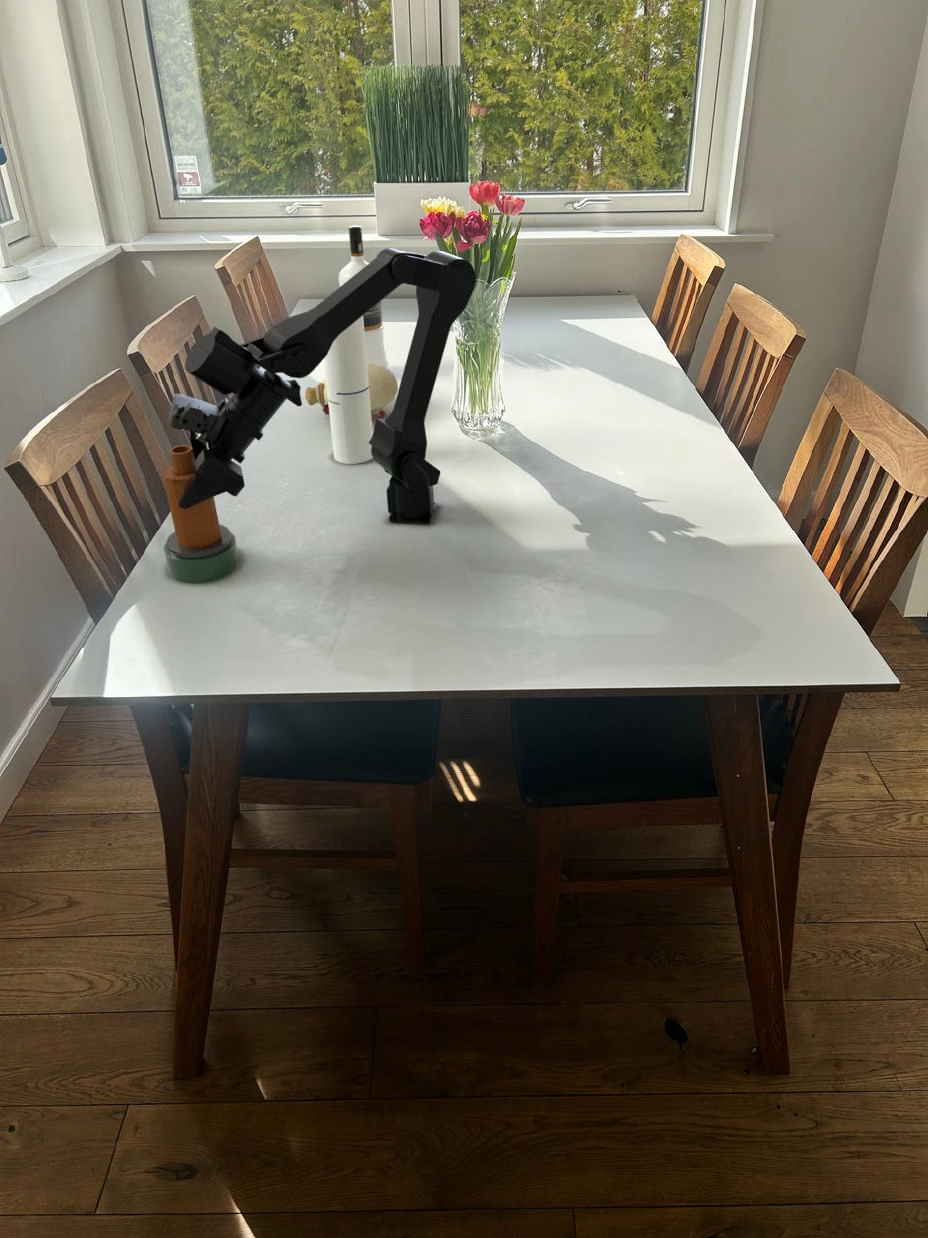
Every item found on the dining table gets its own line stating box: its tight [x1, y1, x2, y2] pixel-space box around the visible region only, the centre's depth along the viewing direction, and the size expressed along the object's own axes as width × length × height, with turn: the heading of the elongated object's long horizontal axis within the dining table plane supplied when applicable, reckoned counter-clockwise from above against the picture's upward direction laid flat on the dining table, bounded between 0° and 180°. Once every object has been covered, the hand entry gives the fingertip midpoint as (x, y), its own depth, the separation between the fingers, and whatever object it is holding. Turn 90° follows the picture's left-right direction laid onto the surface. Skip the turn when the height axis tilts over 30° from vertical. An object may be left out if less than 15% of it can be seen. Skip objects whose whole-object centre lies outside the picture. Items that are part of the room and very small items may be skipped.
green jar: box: [163, 523, 240, 584], centre depth 136 cm, size 10×10×4 cm
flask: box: [304, 364, 399, 419], centre depth 182 cm, size 9×16×18 cm
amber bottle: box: [162, 444, 221, 548], centre depth 131 cm, size 6×6×14 cm
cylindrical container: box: [323, 316, 374, 465], centre depth 161 cm, size 7×7×25 cm
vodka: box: [338, 225, 389, 370], centre depth 195 cm, size 9×9×30 cm
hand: (180, 497), depth 130 cm, fingers closed on amber bottle, 6 cm apart
